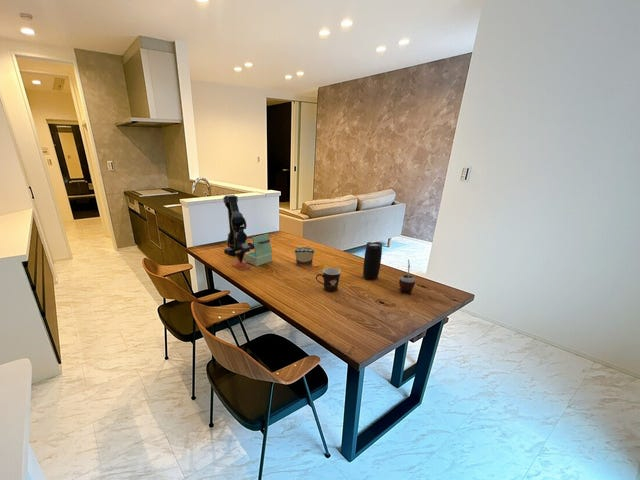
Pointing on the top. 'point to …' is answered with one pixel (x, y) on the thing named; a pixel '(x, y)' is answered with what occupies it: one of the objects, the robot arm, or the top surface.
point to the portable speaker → (372, 260)
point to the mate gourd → (407, 282)
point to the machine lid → (262, 245)
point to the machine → (258, 258)
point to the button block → (241, 265)
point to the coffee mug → (330, 279)
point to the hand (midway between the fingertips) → (240, 262)
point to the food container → (304, 256)
